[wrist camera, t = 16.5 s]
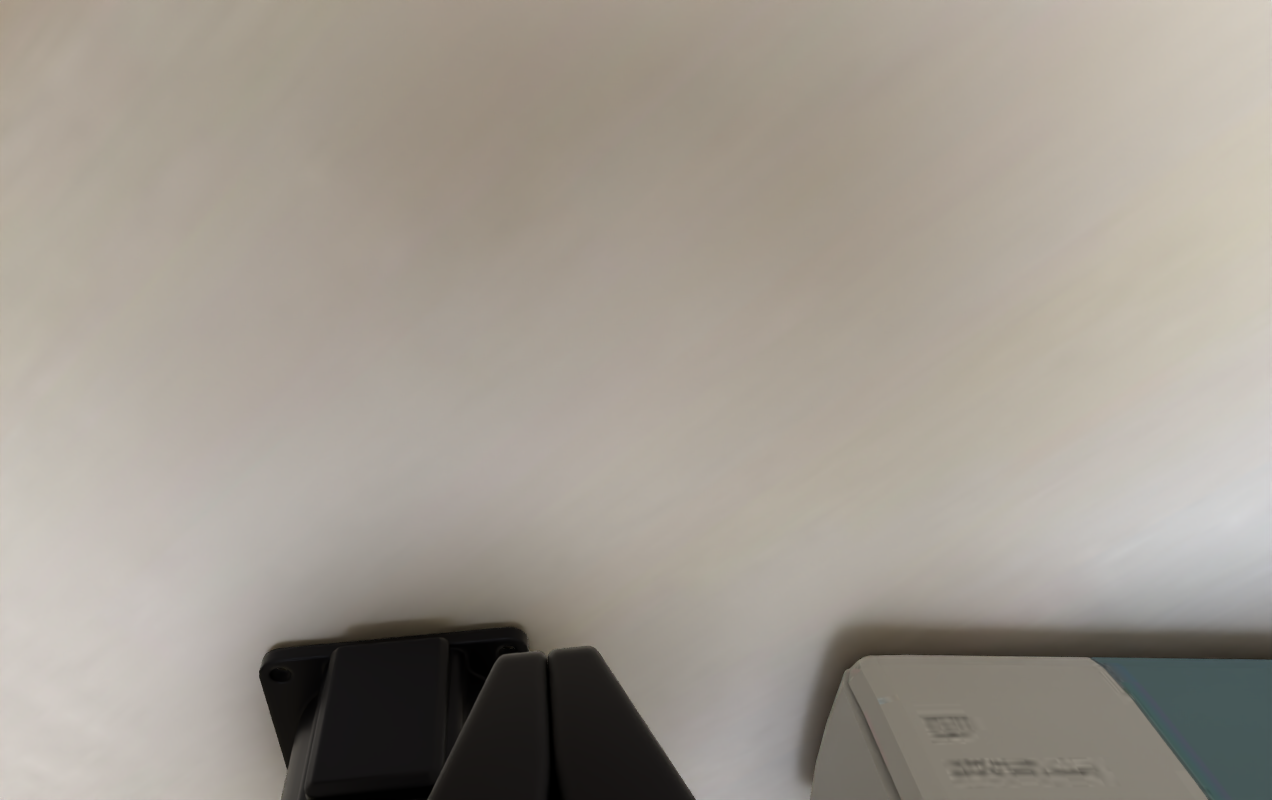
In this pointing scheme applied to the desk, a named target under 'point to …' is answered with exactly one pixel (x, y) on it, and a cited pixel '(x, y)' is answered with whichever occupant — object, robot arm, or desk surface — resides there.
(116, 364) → the desk surface
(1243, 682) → the radio
